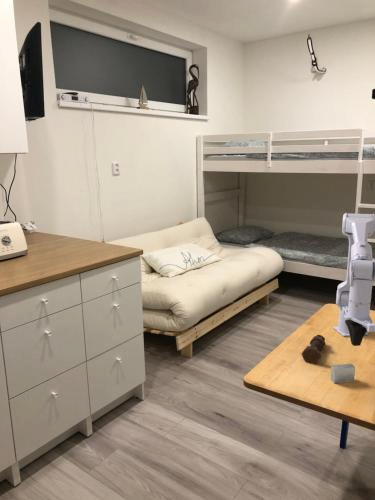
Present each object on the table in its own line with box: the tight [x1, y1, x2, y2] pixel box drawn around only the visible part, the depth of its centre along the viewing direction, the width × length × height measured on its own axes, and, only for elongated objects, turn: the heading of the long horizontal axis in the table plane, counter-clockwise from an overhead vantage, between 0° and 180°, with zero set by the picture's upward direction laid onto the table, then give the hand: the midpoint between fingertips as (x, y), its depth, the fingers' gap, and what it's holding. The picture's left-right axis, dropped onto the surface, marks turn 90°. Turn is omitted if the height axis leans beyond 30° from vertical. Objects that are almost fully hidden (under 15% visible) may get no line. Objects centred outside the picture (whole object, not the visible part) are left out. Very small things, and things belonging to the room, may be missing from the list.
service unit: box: [330, 363, 356, 384], centre depth 116 cm, size 6×2×4 cm, turn 98°
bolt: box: [301, 334, 327, 365], centre depth 132 cm, size 6×5×15 cm
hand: (355, 344), depth 119 cm, fingers closed
